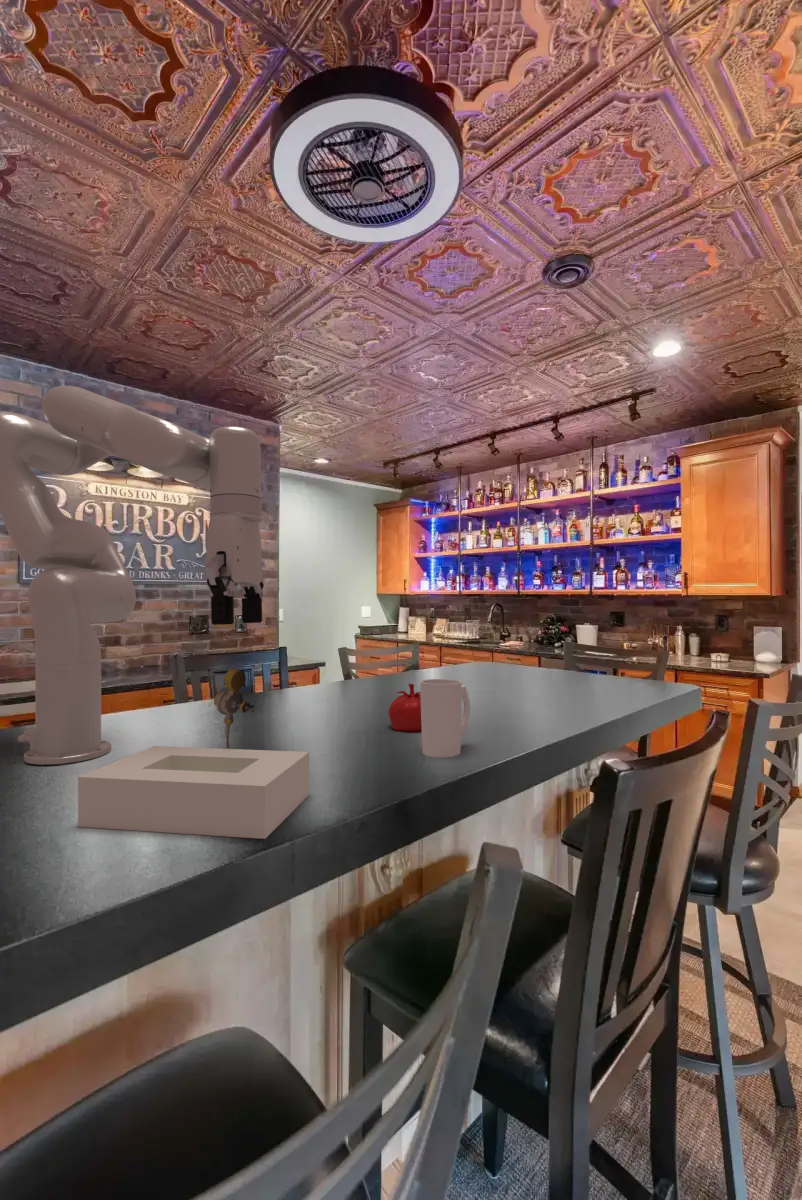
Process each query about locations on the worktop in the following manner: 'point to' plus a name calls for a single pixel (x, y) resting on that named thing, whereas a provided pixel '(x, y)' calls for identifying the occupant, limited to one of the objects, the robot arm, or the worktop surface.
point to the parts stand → (195, 791)
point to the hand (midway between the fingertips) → (238, 623)
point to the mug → (443, 716)
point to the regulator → (232, 698)
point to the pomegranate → (406, 712)
